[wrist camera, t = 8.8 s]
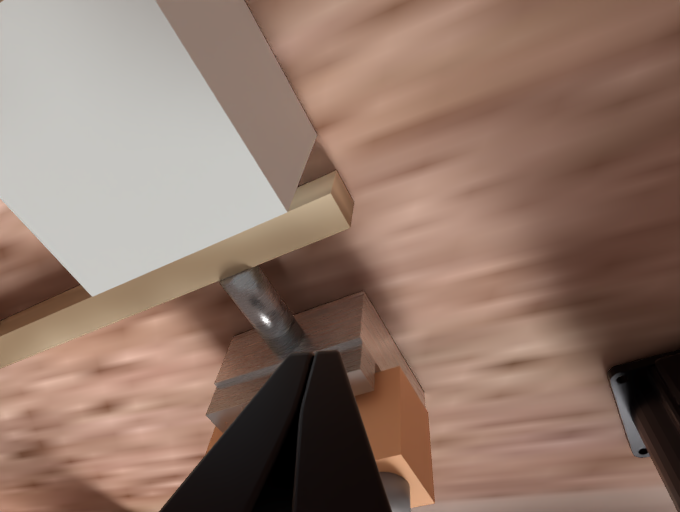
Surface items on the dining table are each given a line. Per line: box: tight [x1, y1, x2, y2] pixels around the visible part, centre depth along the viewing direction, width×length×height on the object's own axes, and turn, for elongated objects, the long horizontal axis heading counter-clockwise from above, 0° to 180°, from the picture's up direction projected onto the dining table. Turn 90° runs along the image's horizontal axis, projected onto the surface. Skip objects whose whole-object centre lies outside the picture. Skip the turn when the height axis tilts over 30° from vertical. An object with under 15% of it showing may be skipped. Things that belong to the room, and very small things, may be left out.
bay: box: [0, 0, 354, 369], centre depth 18 cm, size 13×20×2 cm, turn 117°
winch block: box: [206, 265, 425, 433], centre depth 21 cm, size 11×7×4 cm, turn 27°
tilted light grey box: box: [0, 0, 317, 297], centre depth 15 cm, size 7×7×6 cm
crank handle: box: [205, 366, 435, 512], centre depth 19 cm, size 3×9×5 cm, turn 117°
